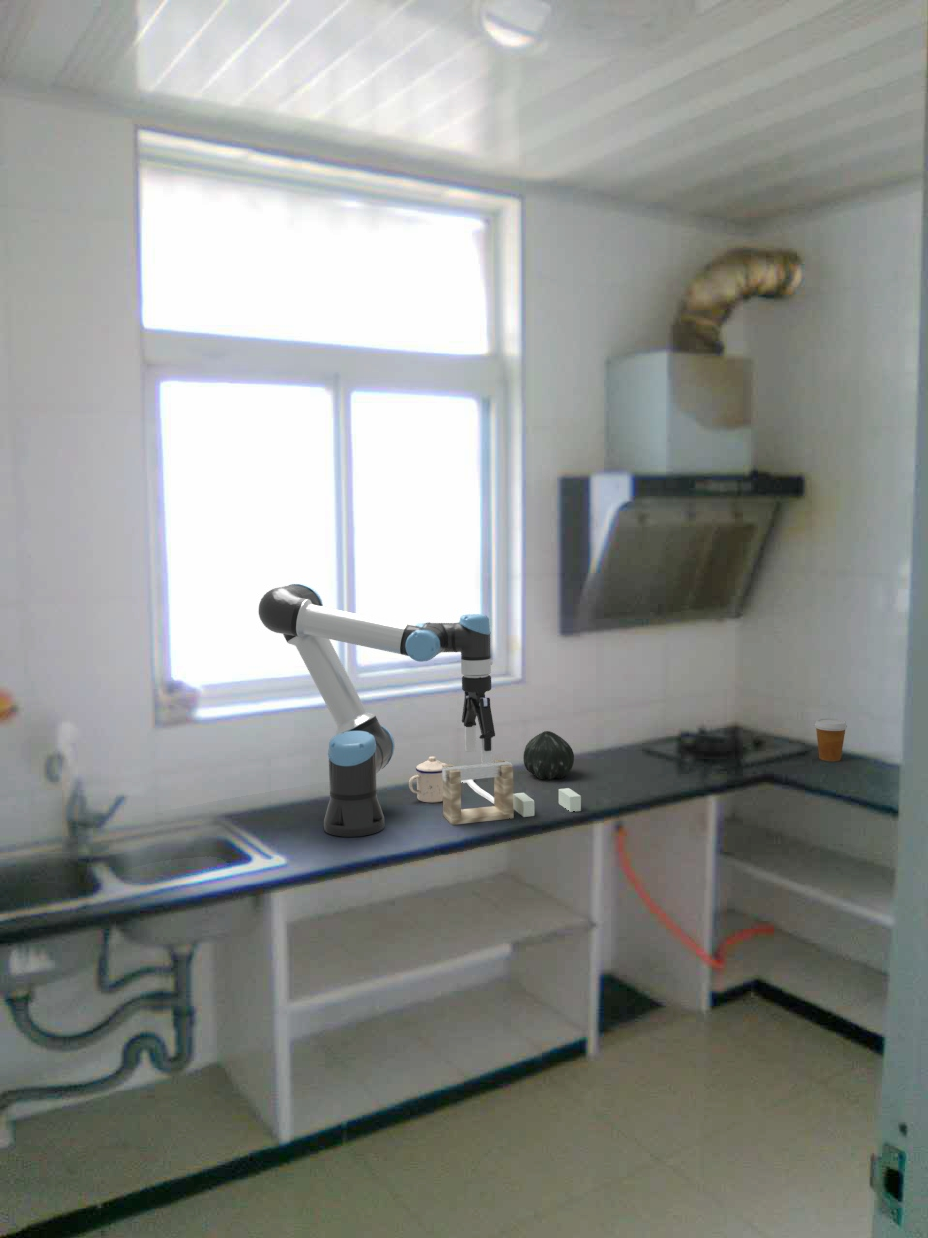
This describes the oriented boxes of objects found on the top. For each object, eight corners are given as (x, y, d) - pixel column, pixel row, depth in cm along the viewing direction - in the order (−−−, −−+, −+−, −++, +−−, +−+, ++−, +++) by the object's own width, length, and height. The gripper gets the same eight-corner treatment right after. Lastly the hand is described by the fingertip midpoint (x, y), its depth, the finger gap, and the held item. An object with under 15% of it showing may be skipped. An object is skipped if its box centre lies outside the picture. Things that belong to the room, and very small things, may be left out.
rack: (451, 824, 250) (450, 772, 248) (443, 815, 257) (442, 765, 256) (513, 818, 254) (513, 766, 253) (503, 809, 262) (502, 759, 261)
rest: (523, 817, 255) (523, 802, 255) (513, 808, 263) (512, 793, 262) (580, 810, 260) (580, 796, 259) (568, 802, 268) (568, 788, 267)
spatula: (509, 806, 267) (508, 795, 266) (494, 807, 265) (494, 797, 265) (472, 780, 293) (472, 771, 292) (459, 782, 291) (459, 772, 291)
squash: (559, 749, 306) (533, 717, 299) (590, 760, 293) (565, 727, 286) (531, 784, 301) (504, 753, 294) (562, 797, 289) (535, 765, 282)
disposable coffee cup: (815, 762, 307) (816, 724, 305) (812, 754, 316) (813, 717, 315) (848, 763, 304) (849, 725, 303) (843, 756, 314) (844, 718, 312)
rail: (445, 782, 251) (445, 770, 251) (442, 779, 254) (442, 767, 253) (512, 775, 256) (512, 764, 256) (508, 772, 259) (508, 761, 259)
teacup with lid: (438, 792, 280) (437, 751, 279) (455, 799, 272) (455, 757, 271) (401, 799, 273) (400, 757, 272) (418, 807, 266) (417, 764, 264)
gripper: (506, 681, 241) (508, 766, 243) (475, 667, 265) (477, 745, 267) (477, 683, 239) (479, 769, 241) (448, 669, 263) (451, 748, 265)
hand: (478, 757), depth 254 cm, fingers open, 13 cm apart
